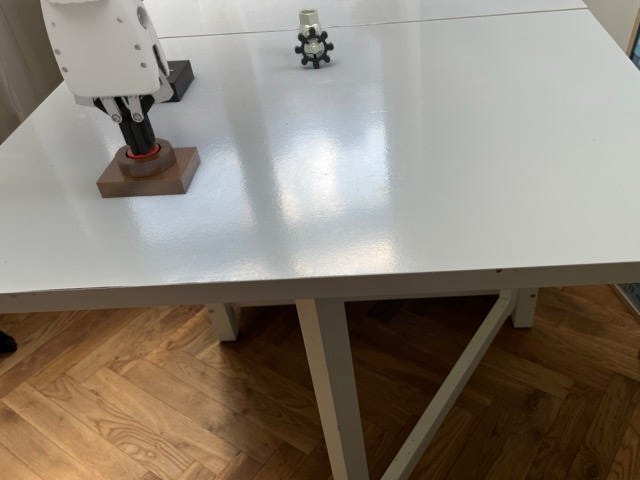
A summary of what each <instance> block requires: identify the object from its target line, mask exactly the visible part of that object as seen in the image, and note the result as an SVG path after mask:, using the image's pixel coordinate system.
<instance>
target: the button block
mask: <svg viewBox="0 0 640 480" xmlns="http://www.w3.org/2000/svg"><path fill="white" fill-rule="evenodd" d="M154 143H155V144H157V145H158V146H159V149H160V152H158V153H157V154H155V155H153V156H151V157H148V158H144V159H130V158H129V156H128V153H127V152H128V150H129V149H130V146H129V145H127V144H125V145H123V146H121V147H120V148H118V150H117V151H116V152H115V154H114V155H113V156H114V157H113V158H112V159H111V161H110V162H109V164H108V165H107V166H106V168H105V169H104V171H103V172H102V173H101V174H100V176H99V178H98V179H97V181H96V182H95V185H96V187H97V189H98V191H99V193H100V196H101V198H102V199H115V198H116V199H118V198H135V197H137V198H139V197H154V196H155V197H158V196H179V195H187V192H188V190H189V188H190V186H191V184H192V181H193V179H194V177H195V176H196V173H197V171H198V169H199V166H200V164H201V161H202V160H201V158H200V154H199V150H198V147H197V146H184V147H173V145H172V144H171V142H170V140H168V139H164V138H160V137H155V142H154Z"/></svg>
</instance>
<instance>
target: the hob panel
mask: <svg viewBox="0 0 640 480" xmlns="http://www.w3.org/2000/svg"><path fill="white" fill-rule="evenodd" d="M167 64H168V67H169V76H168V77H167V78H166V79H167V81H168V83H169V84H170V86H171V88H172V90H173V92H174V93H173V95H172V97H171V98H170V99H169V100H167V101H164V102H163V103H176V102H180V101H181V100H182V99H183V97H184V95H185V93H186V92H187V90H188V89H189V87H190V85H191V84H192V82H193V81H194V79H195V74H194V70H193V68H192V64H191V60H190V59H181V60H180V59H179V60H167ZM123 97H124V98H125V100H126V102H127V104H128V105H129V101H128V97H127V96H123Z"/></svg>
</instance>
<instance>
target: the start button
mask: <svg viewBox="0 0 640 480" xmlns="http://www.w3.org/2000/svg"><path fill="white" fill-rule="evenodd" d="M158 152H160V149H159V146H158V145H157V144H155V143H154V144H153V146H152V148H151V149H150V151H149V152H148V154H142V153H140V154H138V155H133V154H132V151H131V149H129V150H128V152H127V153H128V156H129V158H130V159H144V158H148V157H151V156H153V155H155V154H157V153H158Z"/></svg>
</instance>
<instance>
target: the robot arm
mask: <svg viewBox="0 0 640 480" xmlns="http://www.w3.org/2000/svg"><path fill="white" fill-rule="evenodd" d="M39 1H40V6H41V12H42V18H43V21H44V26H45V30H46V33H47V38H48V40H49V43H50V46H51V49H52V52H53V55H54V58H55V61H56V63H57V66H58V68H59V72H60V74H61V76H62V78H63V80H64V83H65V84H66V87H67V88H68V90H69V91H70V92H71V93H72V94H73V97H74V101H75V103H76V104H78V105H80V106H84V107H90V108H97V109H98V110H99V111H101V112H103V113H104V114H106V115H107V116H109V118H110V119H111V121H112V122H113V123H115V124H118V127H119V129H120V132H121V134H122V137H123V140H124V142H125V145H129V146H130V149H131V151H132V154H133V155H138V154H140V153H142V154H148V152H149V151H150V149H151V148H152V146H153V144H154V142H155V138H156V135H155V132H154V129H153V126H152V124H151V121H150V117H149V112H150V110H151V109H152V107H153V106H154V105H156V104H161V103H165V102H164V101H167V100H169V99H170V98H171V97H172V95H173V93H174V92H173V90H172V88H171V86H170V84H169V83H168V81H167V79H166V78H167V77H168V76H169V67H168V64H167V61H168V60H167V57H166V55H165V52H164V49H163V46H162V44H161V41H160V39H159V36H158V33H157V31H156V28H155V26H154V24H153V22H152V19H151V18H150V17H151V16H150V15H149V12H148V10H147V9H146V6H145V4H144V2H143V0H39ZM123 96H127V97H128V101H129V104H127V102H126V100H125V98H124V97H123Z"/></svg>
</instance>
